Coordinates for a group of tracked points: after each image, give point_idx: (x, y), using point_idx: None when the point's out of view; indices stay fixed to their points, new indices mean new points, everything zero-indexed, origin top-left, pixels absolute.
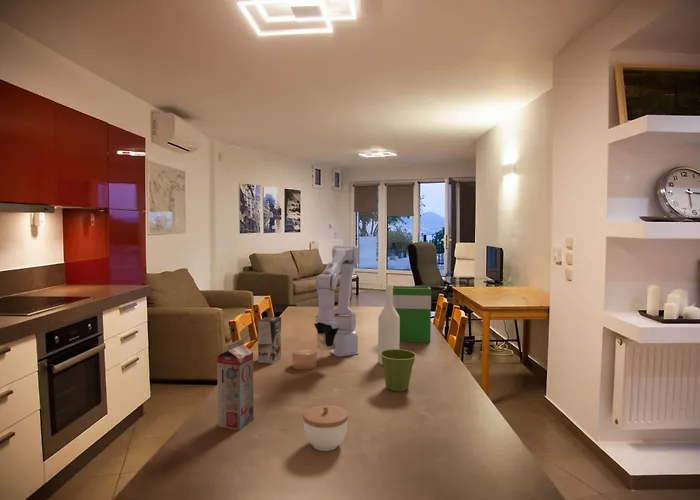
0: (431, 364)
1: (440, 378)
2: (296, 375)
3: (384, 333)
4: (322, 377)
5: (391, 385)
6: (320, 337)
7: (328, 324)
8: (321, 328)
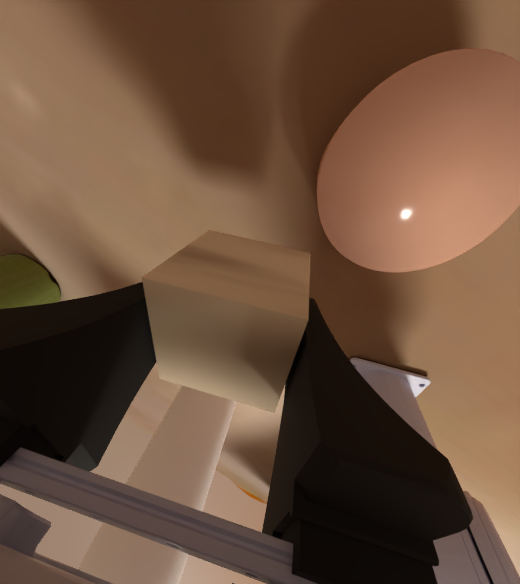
0: (162, 416)
1: None
2: (281, 6)
3: (139, 479)
4: (180, 147)
5: None
6: (216, 282)
7: (9, 479)
8: (295, 419)
